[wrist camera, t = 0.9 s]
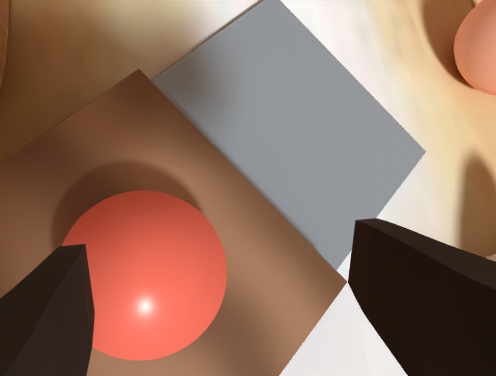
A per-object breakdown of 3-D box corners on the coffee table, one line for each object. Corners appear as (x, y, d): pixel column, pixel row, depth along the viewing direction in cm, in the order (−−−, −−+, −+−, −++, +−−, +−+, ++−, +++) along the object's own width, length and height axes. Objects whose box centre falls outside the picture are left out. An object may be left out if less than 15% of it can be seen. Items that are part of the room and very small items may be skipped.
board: (150, 510, 20) (161, 537, 18) (-99, 263, 20) (-128, 251, 17) (320, 287, 27) (347, 281, 24) (133, 96, 26) (139, 68, 24)
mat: (325, 281, 27) (328, 280, 26) (139, 91, 26) (140, 88, 26) (422, 153, 33) (425, 151, 32) (271, -3, 32) (273, -7, 32)
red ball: (137, 394, 19) (143, 401, 17) (20, 277, 19) (13, 270, 17) (241, 276, 22) (257, 270, 20) (142, 175, 22) (148, 159, 20)
